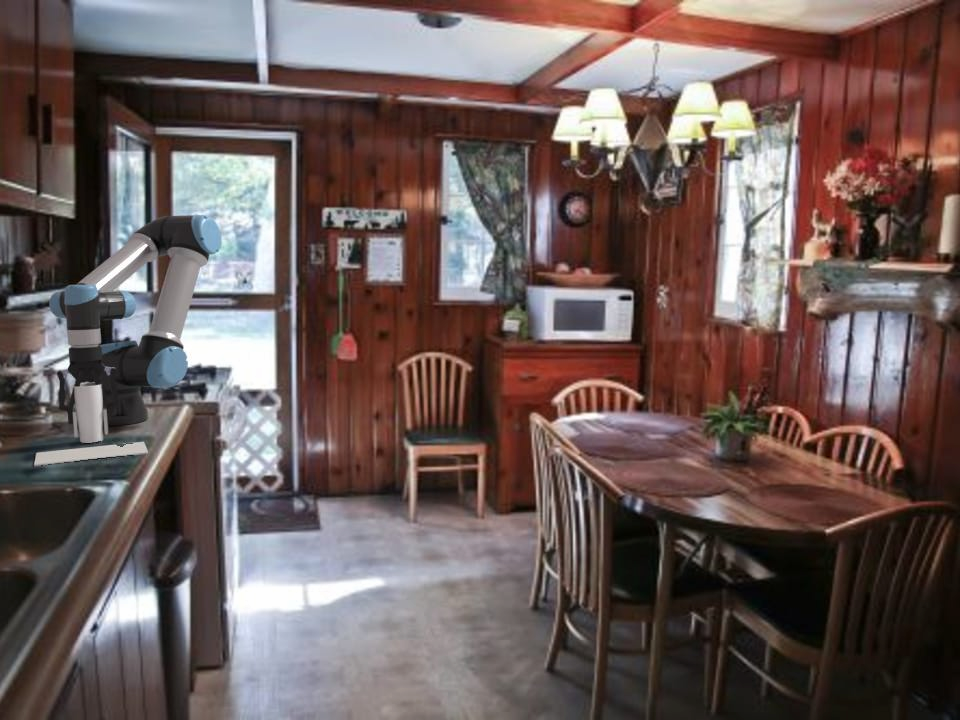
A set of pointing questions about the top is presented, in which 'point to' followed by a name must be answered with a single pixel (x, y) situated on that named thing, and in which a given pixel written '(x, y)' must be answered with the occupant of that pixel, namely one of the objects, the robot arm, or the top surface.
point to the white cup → (89, 412)
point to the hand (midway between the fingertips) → (91, 434)
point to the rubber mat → (89, 453)
